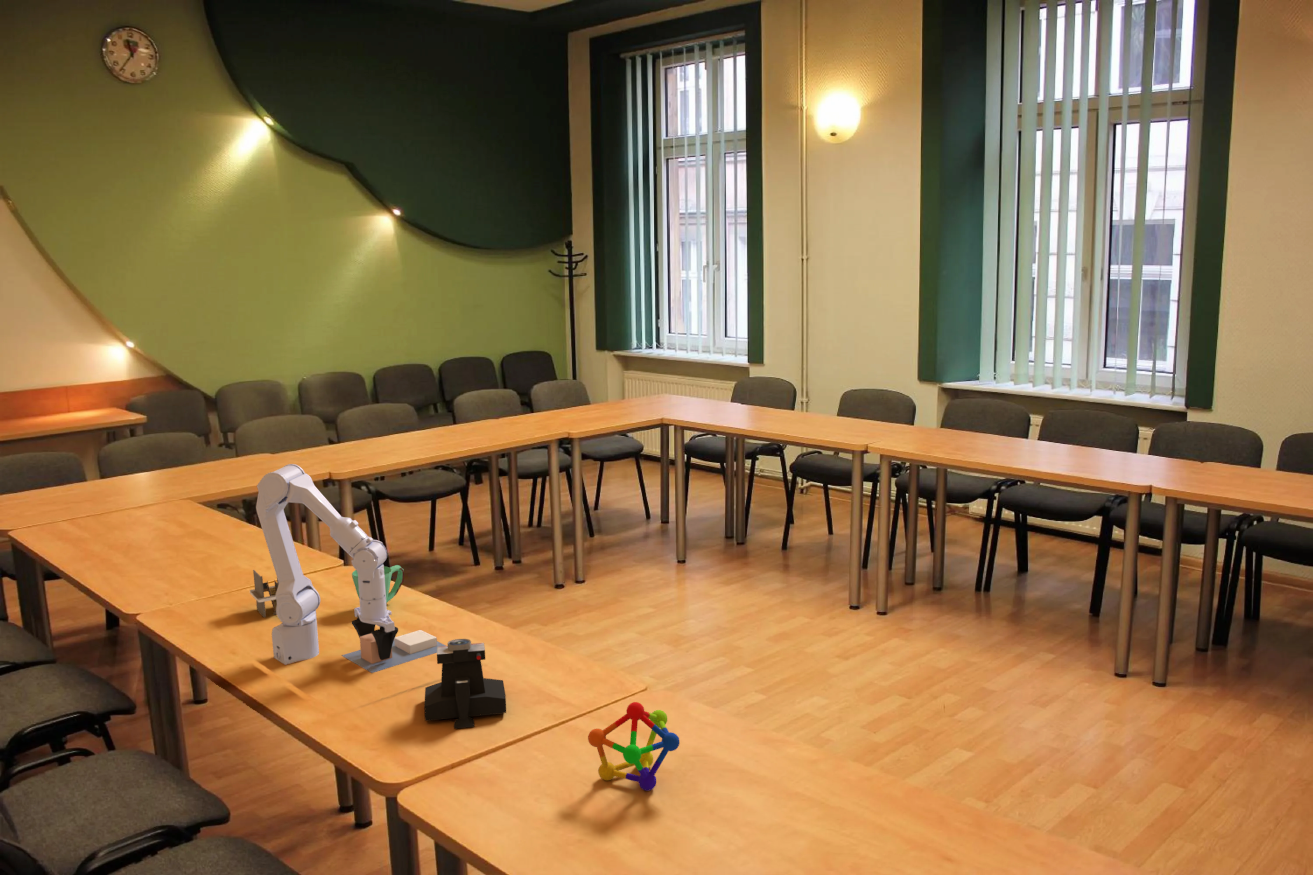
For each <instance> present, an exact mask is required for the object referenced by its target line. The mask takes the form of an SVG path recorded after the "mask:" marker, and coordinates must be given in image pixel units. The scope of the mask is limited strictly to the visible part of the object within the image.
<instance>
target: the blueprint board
mask: <svg viewBox="0 0 1313 875" xmlns="http://www.w3.org/2000/svg"><path fill="white" fill-rule="evenodd" d="M441 646H447V645H446V644H443V643H442V642H439V641H438V639H437V636H435V635H432V634H430V633H428V632H426V631H424V630H422V629H419V630H415V631H412V632H407V633H405V634H402V635H398V636H395V638H394V641H393V644H392V658H390V659H387V660H383V661H380V662H377V663H374V664H371V663H370V662H368V661H366V660H364V659H363V658H361V649H358V650H355V651H351V652H348V653H345V654H342V655H341V656H342V657H343V658H345V659H347V660H349V661H351V663H353V664H355V665H357V666H359V667H360V668H362V669H364V670H366V671H367V672H369V673H371V674H374V673H378V672H380V671H383V670H386V669H390V668H392V667H396V666H399V665H402V664H405V663H408V662H412V661H415V660H418V659H421V658H422V659H423V658H425V657H428V656H430V655H433V654H437V647H441Z"/></svg>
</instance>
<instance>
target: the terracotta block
mask: <svg viewBox="0 0 1313 875" xmlns="http://www.w3.org/2000/svg"><path fill="white" fill-rule="evenodd" d="M359 643H360V650H361V658H363V659H364V660H366V661H368V662H370V663H371V664H374V663H377V662H380V661H383V660H381V659H380V657H379V653H378V648H377V644H376V641H375V638H374V636H373V635H372V633H371V634H367V635H364V636H361V637H360V638H359ZM390 658H392V649H391V654H390ZM390 658H388V659H390ZM384 660H387V659H384Z"/></svg>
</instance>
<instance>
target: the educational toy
mask: <svg viewBox="0 0 1313 875" xmlns="http://www.w3.org/2000/svg"><path fill="white" fill-rule="evenodd" d="M625 712H626V714H624V715H623V716H621V717H620V718H618V719H616V720H615V721H614V722H612V723H611V724H609V725H608V726H607V727H605V728H604V729H601V728H594V729H591V730H590V731H589V734H588V735H587V740H588V741H587V742H588V743H589V745H590V746H592V747H593V748H596V749H597V753H598V756H599V758H600V762H601V764H600V765H599V767H598V771H597V772H598V776H599V778H600V779H602V780H603V781H611V780H612V779H614V778H615V777H617V778H621V779H624V780H628V781H632V782H637V783H638V785H639V787H640V788H641V790H643V791H647V792H649V791H651V790H653V789H654V788H655V787H656V785H657V776H656V773H657V772H658V770H659V768H660V767H661V765H662V763H663V762H664V760H665V758H666V756H667V754H668V753H669V752H674V751H676V750H677V749H678V747H680V744H681V743H680V737H679V736H678V735H677V734H676V733H674V732H673V731H672V732H670V731H669V730H668V728H667V726H666V724H667V723H668V715H667V713H666V712H665V711H663V710H662V709H655V710H654V711H653V712H652V713H651V712H648V711H646V710H645V707H644V705H643V704H641V702H638V701H633V702H631V703H629V704H628V705H627V707H626V711H625ZM629 720H631V724H630V726H631V727H630V738H629V739H630V740H629V741H630V742H629V744H628V745H627V746H626V747H625V746H623V745H621V744H619V743H616V742H614V741H613V740H610V739H608V738H607V735H609V734H610V733H611V732H613V731H614V730H616V729H618V728H619V727H620V726H621V725H623V724H624V723H626V722H628V721H629ZM639 720H640V721H642V722H643V723H644V724H645V725H646V726H647V727H648V728H650V729H651V732H650V734H649V737H648V740H647V742H646V745H645V746H643V747H639V746H638V745H637V735H638V722H639ZM657 736H658V737H660V739H661V741H659V742H655V740H656V737H657ZM604 746H606V747H608V748H611V749H613V750H615V751H617V752H618V753H619V752H620V753H621V754H622V757H623V759H624V761H625V762H621V763H619V764H615V765H614V763H612V762H610V761H608V759H607V756H606V752H605V749H604ZM659 749H660V750H661V751H660V753H659V755H658V757H657V758H656V760H655V762H654V755H653V753H652V752H653V751H657V750H659ZM653 762H654V763H653ZM652 764H653V765H652ZM633 766H635V768H636V769H637V772H638V773H639V775H637V774H632V773H630V772H625V771H623V770H625V769H627V768H631V767H633ZM651 766H652V767H651ZM650 767H651V768H650ZM621 770H622V771H621Z"/></svg>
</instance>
